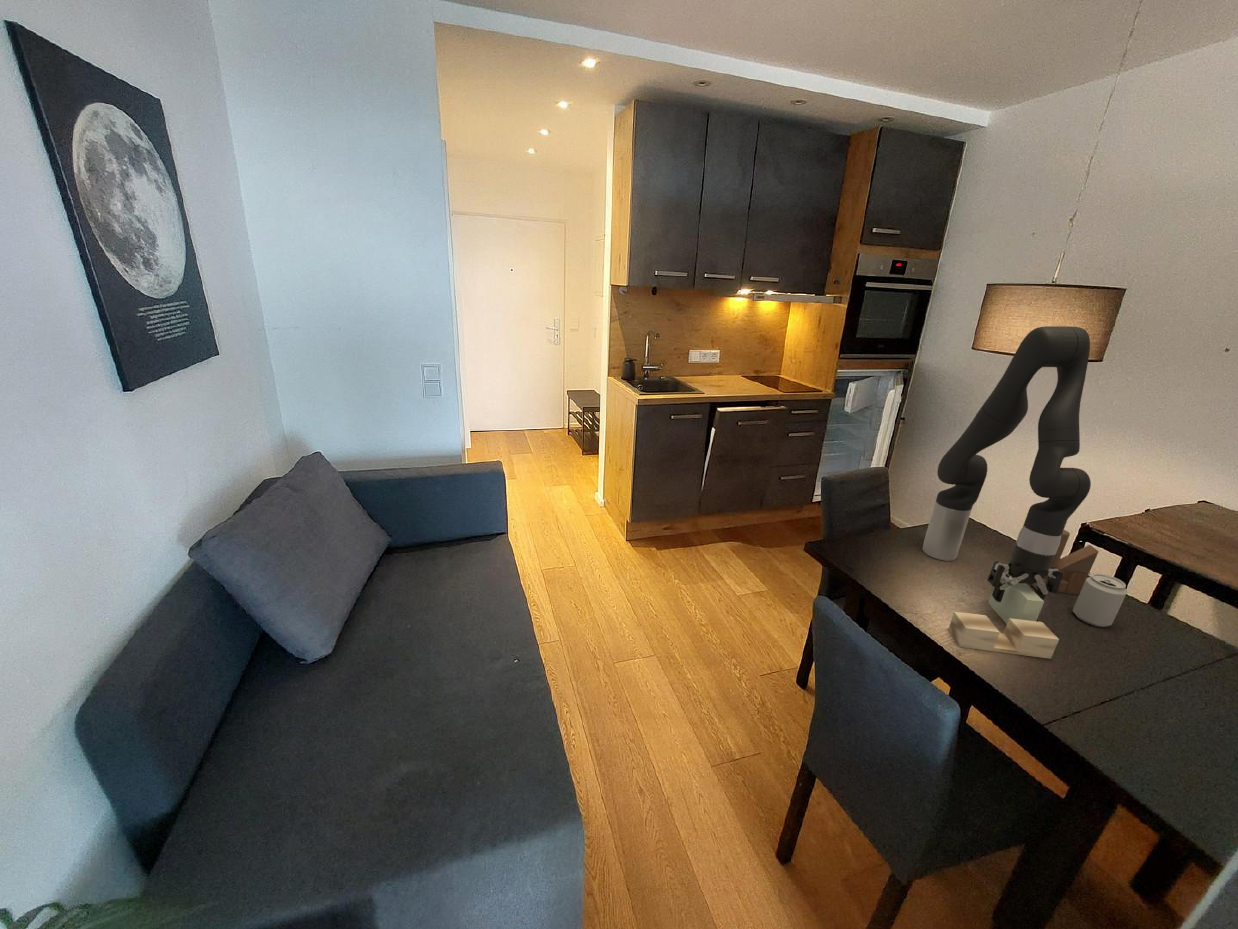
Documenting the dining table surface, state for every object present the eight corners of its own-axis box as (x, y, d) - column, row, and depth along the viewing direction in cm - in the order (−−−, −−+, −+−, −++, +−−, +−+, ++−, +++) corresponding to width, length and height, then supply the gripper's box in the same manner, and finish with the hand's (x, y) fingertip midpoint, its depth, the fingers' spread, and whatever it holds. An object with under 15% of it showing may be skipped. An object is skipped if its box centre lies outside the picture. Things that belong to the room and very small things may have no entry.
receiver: (948, 629, 118) (954, 611, 116) (1034, 640, 115) (1042, 622, 113) (959, 647, 112) (966, 628, 110) (1050, 658, 109) (1059, 639, 107)
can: (1071, 619, 122) (1088, 579, 118) (1071, 606, 128) (1088, 567, 123) (1111, 633, 118) (1131, 592, 113) (1110, 619, 123) (1129, 579, 118)
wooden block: (1079, 595, 132) (1104, 538, 125) (1035, 589, 134) (1057, 533, 128) (1071, 588, 135) (1095, 532, 129) (1027, 582, 138) (1049, 527, 131)
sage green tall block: (988, 603, 128) (999, 571, 125) (1003, 605, 128) (1014, 573, 124) (1014, 633, 117) (1027, 599, 114) (1030, 635, 117) (1044, 601, 113)
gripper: (1059, 541, 117) (1037, 596, 123) (994, 535, 119) (976, 590, 125) (1081, 557, 110) (1057, 615, 116) (1012, 550, 112) (992, 607, 118)
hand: (1015, 602), depth 120 cm, fingers open, 8 cm apart
